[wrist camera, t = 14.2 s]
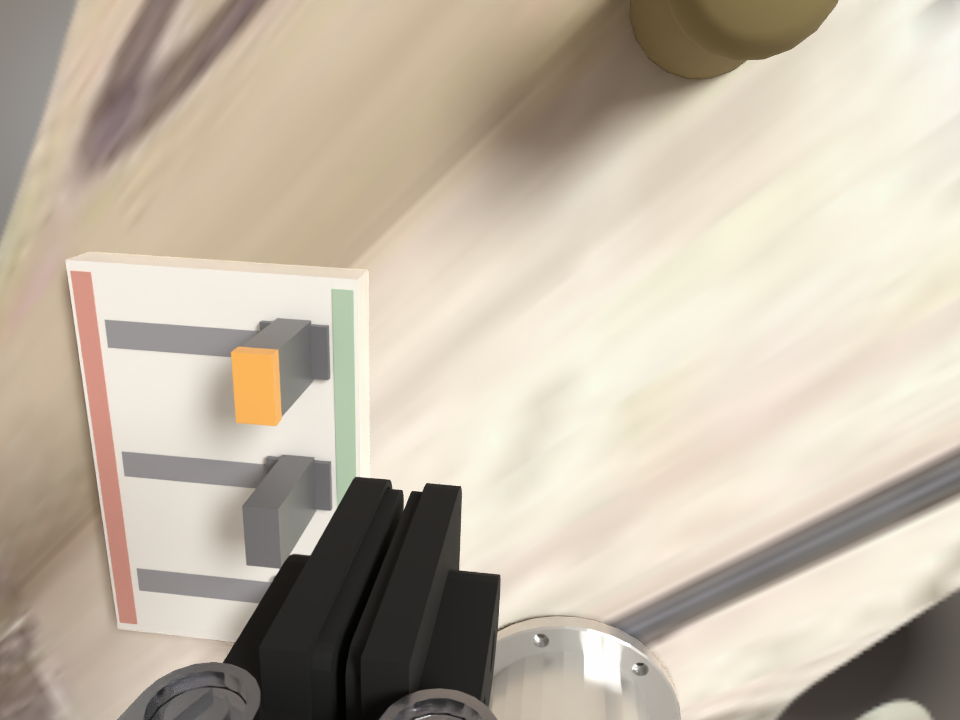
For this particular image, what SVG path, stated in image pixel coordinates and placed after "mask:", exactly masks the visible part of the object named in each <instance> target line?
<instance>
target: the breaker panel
mask: <svg viewBox="0 0 960 720" xmlns="http://www.w3.org/2000/svg"><path fill="white" fill-rule="evenodd" d="M65 261H66V268H67V275H68V282H69V289H70V296H71V303H72V310H73V317H74V324H75V331H76V338H77V345H78V352H79V359H80V366H81V373H82V380H83V387H84V394H85V401H86V408H87V415H88V422H89V429H90V436H91V443H92V450H93V457H94V464H95V471H96V478H97V485H98V492H99V499H100V506H101V513H102V520H103V527H104V534H105V541H106V548H107V555H108V562H109V569H110V576H111V583H112V590H113V597H114V604H115V611H116V618H117V625H118V629H122V630H131V631H140V632H149V633H158V634H166V635H175V636H184V637H193V638H202V639H210V640H219V641H228V642H236V641H237V639H238V637H239V636H240V634H241V632H242V631H243V629H244V627H245V626H246V624H247V622H248V621H249V619H250V618H251V616H252V614H253V613H254V611H255V609H256V608H257V606H258V604H259V603H260V601H261V599H262V598H263V596H264V595H265V593H266V591H267V590H268V588H269V586H270V585H271V583H272V581H273V578H274V576H276V575H277V573H278V571H279V570H280V569H277V568H267V567H258V566H248V565H246V553H245V539H244V525H243V511H242V506H243V504H244V503H245V502H246V501H247V499H248V498H249V497H250V495H251V494H252V493H253V492H254V490H255V489H256V488H257V487H258V485H259V484H260V483H261V482H262V480H263V479H264V478H265V476H266V475H267V469H266V458H267V457H268V456H276V457H281V456H282V455H294V456H306V457H315V460H320V461H331V473H332V510H331V511H326V510H316V512H315V514H314V516H313V517H312V519H311V521H310V522H309V524H308V526H307V527H306V529H305V531H304V532H303V534H302V536H301V537H300V539H299V541H298V542H297V544H296V545H295V547H294V549H293V550H292V552H291V554H290V555H292V554H301V555H311V553H312V552H313V550H314V548H315V546H316V544H317V543H318V541H319V539H320V537H321V536H322V534H323V532H324V530H325V528H326V527H327V525H328V523H329V521H330V519H331V518H332V516H333V514H334V512H335V511H336V509H337V507H338V505H339V503H340V502H341V500H342V498H343V496H344V495H345V493H346V491H347V489H348V487H349V486H350V484H351V482H352V480H353V479H354V478H355V477H364V478H370V368H369V270H364V269H349V268H334V267H319V266H304V265H289V264H274V263H258V262H243V261H228V260H213V259H198V258H183V257H168V256H153V255H138V254H123V253H107V252H92V251H90V252H87V253H84V254H81V255H78V256H75V257H72V258H69V259H66V260H65ZM277 318H284V319H297V320H311V324H318V325H329V346H330V379H329V380H319V379H313V382H312V383H311V385H310V386H309V387H308V388H307V389H306V390H305V391H304V392H303V394H302V395H301V396H300V397H299V398H298V399H297V400H296V402H295V403H294V404H293V405H292V406H291V407H290V408H289V409H288V411H287V412H286V413H285V414H284V415H283V416H282V420H281V421H280V422H279V423H278V424H277V426H266V425H255V424H243V423H236V415H235V402H234V388H233V374H232V360H231V352H232V351H233V350H234V349H236V348H237V347H241V346H242V345H244V344H245V343H246V342H247V341H249V340H250V339H251V338H253V337H254V336H255V335H256V334H258V333H259V332H260V326H259V322H260V321H262V320H264V321H274V320H276V319H277Z"/></svg>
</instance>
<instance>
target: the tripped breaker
mask: <svg viewBox="0 0 960 720" xmlns="http://www.w3.org/2000/svg"><path fill="white" fill-rule="evenodd" d="M259 326H260V332H259V333H258V334H256V335H255V336H254V337H253V338H251V339H250V340H249V341H247V342H246V343H245V344H244V345H242V346H241V347H237V348H236V349H234V350H233V351H232V352H231V360H232V374H233V388H234V402H235V415H236V423H243V424H255V425H266V426H277V424H278V423H279V422H280V421H281V420H282V416H283V415H284V414H285V413H286V412H287V411H288V409H289V408H290V407H291V406H292V405H293V404H294V403H295V402H296V400H297V399H298V398H299V397H300V396H301V395H302V394H303V392H304V391H305V390H306V389H307V388H308V387H309V386H310V385H311V383H312V382H313V379H319V380H329V379H330V346H329V325H318V324H311V320H297V319H284V318H277V319H276V320H274V321H264V320H262V321H260V322H259Z"/></svg>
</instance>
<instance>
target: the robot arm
mask: <svg viewBox="0 0 960 720" xmlns="http://www.w3.org/2000/svg"><path fill="white" fill-rule="evenodd" d="M461 504H462V490H461V486H452V485H441V484H430V483H426V485H425V487H424V489H423V492H417V491H412V492H411V494H410V496H409V499H408V501H407V504H406V506H405V509H404V511H403V508H404V498H403V491H402V490H395V489H392V484H391V481H390V480H386V479H375V478H364V477H355V478H354V479H353V480H352V482H351V484H350V486H349V487H348V489H347V491H346V493H345V495H344V496H343V498H342V500H341V502H340V503H339V505H338V507H337V509H336V511H335V512H334V514H333V516H332V518H331V519H330V521H329V523H328V525H327V527H326V528H325V530H324V532H323V534H322V536H321V537H320V539H319V541H318V543H317V544H316V546H315V548H314V550H313V552H312V553H311V555H301V554H292V555H289V557H288V558H287V559H286V560H285V562H284V563H283V565H282V567H281V568H280V570H279V571H278V573H277V575H276V576H275V578H274V580H273V581H272V583H271V585H270V586H269V588H268V590H267V591H266V593H265V595H264V596H263V598H262V599H261V601H260V603H259V604H258V606H257V608H256V609H255V611H254V613H253V614H252V616H251V618H250V619H249V621H248V622H247V624H246V626H245V627H244V629H243V631H242V632H241V634H240V636H239V637H238V639H237V641H236V642H235V644H234V645H233V647H232V649H231V650H230V652H229V654H228V655H227V657H226V659H225V660H224V662H223V663H217V662H210V663H201V664H193V665H190V666H187V667H184V668H181V669H177V670H175V671H173V672H171V673H169V674H167V675H165V676H164V677H162V678H160V679H158V680H157V681H155V682H154V683H153V684H152V685H151V686H150V687H148V688H147V689H146V690H145V691H144V692H143V693H142V694H141V695H140V696H139V697H138V698H137V699H136V700H135V701H134V702H133V703H132V704H131V705H130V707H129V708H128V709H127V710H126V711H125V712H124V713H123V714H122V715H121V716H120V717H119V718H118V719H117V720H681V716H680V708H679V701H678V697H677V693H676V689H675V685H674V683H673V681H672V679H671V677H670V675H669V673H668V671H667V669H666V668H665V667H664V665H663V664H662V663H661V662H660V660H659V659H658V658H657V657H656V655H655V654H654V653H653V652H652V651H650V650H649V649H648V648H647V647H646V646H644V645H643V644H642V643H641V642H640V641H639V640H637V639H635V638H634V637H632V636H630V635H628V634H627V633H625V632H623V631H622V630H620V629H617V628H615V627H612V626H609V625H607V624H604V623H601V622H599V621H594V620H589V619H584V618H579V617H564V616H551V617H542V618H534V619H530V620H526V621H523V622H519V623H516V624H512V625H510V626H508V627H506V628H504V629H502V630H500V631H498V617H499V600H500V575H498V574H488V573H478V572H468V571H459V558H460V531H461ZM497 631H498V632H497Z"/></svg>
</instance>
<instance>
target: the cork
mask: <svg viewBox="0 0 960 720" xmlns="http://www.w3.org/2000/svg"><path fill="white" fill-rule="evenodd" d="M837 3H838V0H630V19H631V23H632V26H633V30H634V33H635V37H636V40H637V41H638V43H639V44H640V46H641V47H642V49H643V50H644V52H645V53H646V55H647V56H648V58H649V59H650V60H652V61H653V62H654V63H656V64H657V65H658V66H660V67H661V68H662V69H664V70H665V71H666V72H668V73H672V74H675V75H678V76H681V77H685V78H688V79H695V78H713V77H716V76H718V75H721V74H724V73H727V72H729V71H732V70H735V69H736V68H737V67H739V66H740V65H741V64H743V63H744V62H745V61H747V60H760V59H766V58H769V57H771V56H774V55H777V54H780V53H782V52H785V51H788V50H791V49H792V48H794V47H795V46H796V45H798V44H799V43H801V42H802V41H803V40H805V39H806V38H807V37H809V36H810V35H811V34H813V33H814V32H815V31H817V29H818V28H819V27H820V25H821V24H822V23H823V22H824V20H825V19H826V18H827V16H828V15H829V14H830V13H831V11H832V10H833V9H834V7H835V6H836V4H837Z"/></svg>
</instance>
